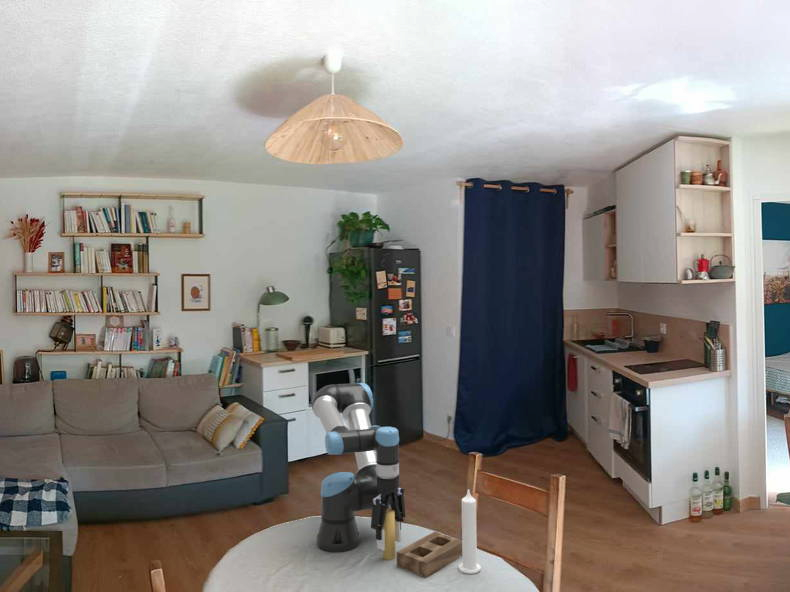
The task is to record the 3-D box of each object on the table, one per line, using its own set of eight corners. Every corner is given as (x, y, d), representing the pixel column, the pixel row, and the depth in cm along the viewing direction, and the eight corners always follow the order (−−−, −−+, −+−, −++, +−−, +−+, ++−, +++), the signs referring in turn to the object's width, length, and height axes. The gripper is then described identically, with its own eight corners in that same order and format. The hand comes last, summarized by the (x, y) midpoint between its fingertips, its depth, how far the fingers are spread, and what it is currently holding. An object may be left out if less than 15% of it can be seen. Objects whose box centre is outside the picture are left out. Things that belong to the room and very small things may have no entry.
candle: (480, 575, 176) (479, 493, 176) (457, 573, 177) (456, 492, 177) (481, 564, 183) (480, 486, 183) (459, 562, 184) (458, 485, 184)
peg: (380, 557, 189) (379, 512, 189) (388, 553, 192) (388, 508, 192) (389, 561, 186) (388, 514, 186) (397, 556, 189) (397, 511, 189)
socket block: (396, 565, 183) (396, 551, 183) (434, 544, 198) (434, 531, 198) (426, 577, 175) (426, 563, 175) (463, 554, 190) (463, 541, 190)
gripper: (375, 485, 179) (376, 559, 179) (415, 470, 194) (416, 537, 194) (358, 480, 184) (359, 552, 184) (399, 466, 199) (400, 531, 199)
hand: (388, 544), depth 189 cm, fingers open, 7 cm apart
